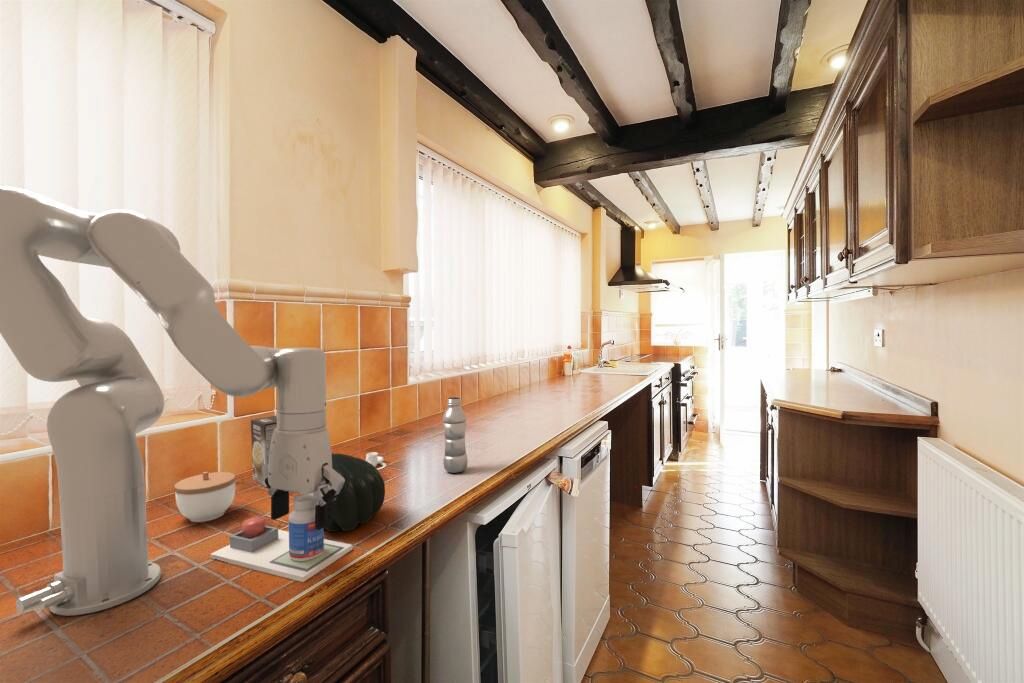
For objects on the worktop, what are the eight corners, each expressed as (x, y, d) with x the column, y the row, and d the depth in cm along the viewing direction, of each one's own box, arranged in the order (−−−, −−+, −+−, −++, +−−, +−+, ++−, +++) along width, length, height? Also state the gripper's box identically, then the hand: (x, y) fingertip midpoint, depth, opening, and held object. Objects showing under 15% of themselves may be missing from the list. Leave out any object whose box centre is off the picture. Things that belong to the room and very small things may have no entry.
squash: (408, 494, 92) (373, 433, 97) (344, 524, 80) (308, 453, 84) (376, 526, 98) (345, 468, 103) (313, 559, 86) (281, 491, 91)
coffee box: (251, 480, 118) (249, 419, 117) (277, 473, 123) (275, 415, 122) (266, 488, 112) (263, 423, 111) (292, 481, 117) (290, 419, 116)
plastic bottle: (472, 470, 124) (471, 397, 123) (457, 477, 118) (455, 400, 117) (454, 466, 127) (453, 395, 126) (438, 473, 121) (436, 399, 121)
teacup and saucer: (377, 461, 134) (376, 447, 134) (394, 466, 130) (394, 451, 130) (351, 469, 127) (350, 454, 127) (368, 474, 123) (368, 459, 123)
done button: (252, 538, 79) (252, 526, 79) (237, 534, 81) (237, 523, 80) (270, 529, 83) (269, 518, 82) (255, 526, 84) (255, 515, 84)
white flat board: (303, 582, 70) (302, 564, 70) (210, 558, 78) (209, 542, 78) (352, 549, 80) (352, 533, 80) (266, 531, 88) (265, 517, 88)
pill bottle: (311, 563, 74) (309, 504, 73) (282, 560, 75) (280, 502, 75) (330, 547, 79) (329, 492, 79) (303, 545, 80) (301, 490, 80)
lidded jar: (182, 532, 88) (180, 485, 88) (170, 517, 95) (168, 473, 95) (243, 515, 96) (242, 471, 96) (228, 502, 103) (226, 461, 103)
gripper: (244, 420, 76) (244, 521, 76) (325, 430, 69) (324, 540, 70) (282, 413, 83) (282, 505, 83) (358, 421, 76) (357, 521, 77)
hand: (301, 521), depth 77 cm, fingers open, 9 cm apart
